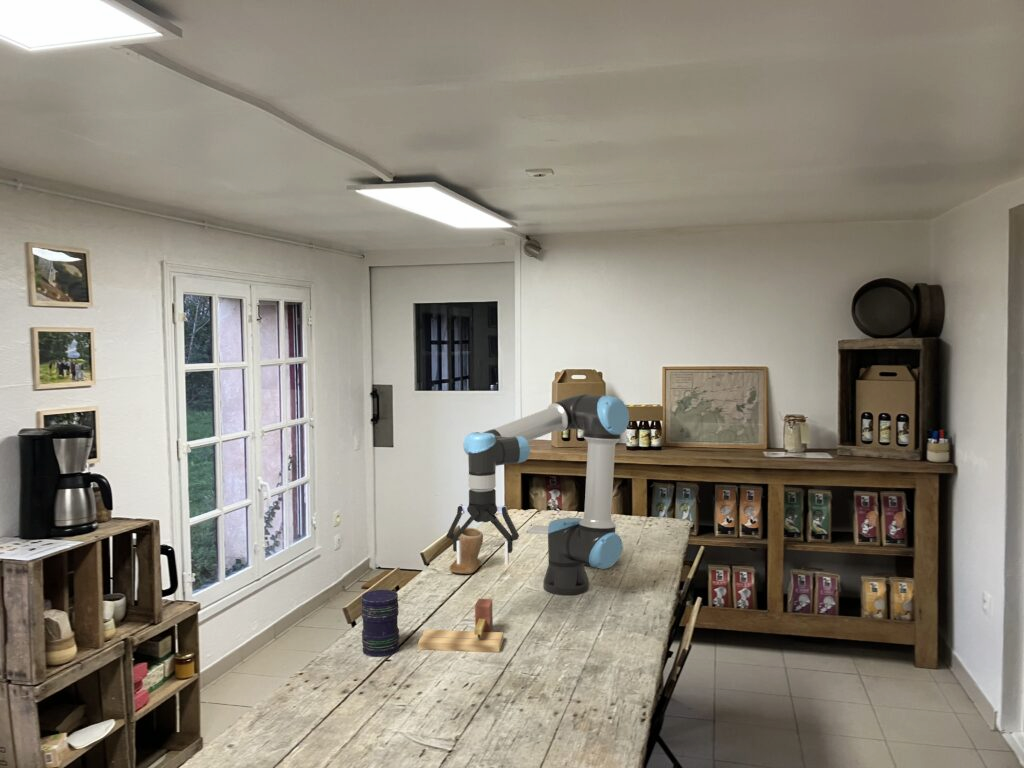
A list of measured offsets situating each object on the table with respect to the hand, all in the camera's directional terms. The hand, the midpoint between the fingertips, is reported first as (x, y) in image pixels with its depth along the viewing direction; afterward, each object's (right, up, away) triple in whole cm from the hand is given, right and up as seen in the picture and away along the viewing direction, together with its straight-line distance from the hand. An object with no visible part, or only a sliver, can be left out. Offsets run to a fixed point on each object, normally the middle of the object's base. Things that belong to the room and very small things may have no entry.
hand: (482, 563), depth 224 cm
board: (-6, -21, -6) cm, 22 cm away
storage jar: (-27, -21, -9) cm, 36 cm away
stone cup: (-8, -16, +62) cm, 64 cm away
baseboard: (+31, -13, +112) cm, 117 cm away
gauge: (0, -20, -3) cm, 21 cm away
